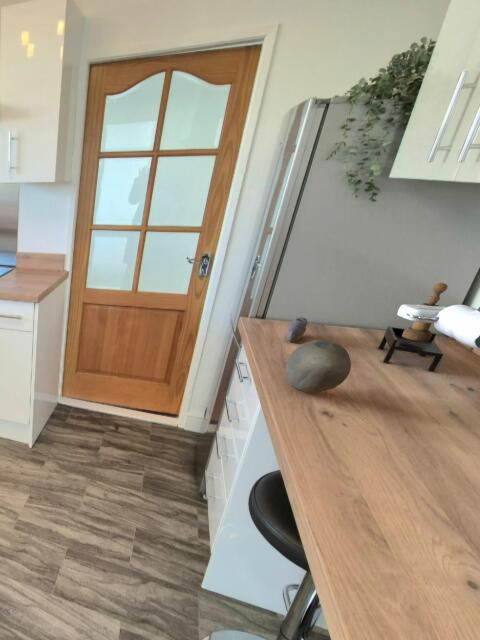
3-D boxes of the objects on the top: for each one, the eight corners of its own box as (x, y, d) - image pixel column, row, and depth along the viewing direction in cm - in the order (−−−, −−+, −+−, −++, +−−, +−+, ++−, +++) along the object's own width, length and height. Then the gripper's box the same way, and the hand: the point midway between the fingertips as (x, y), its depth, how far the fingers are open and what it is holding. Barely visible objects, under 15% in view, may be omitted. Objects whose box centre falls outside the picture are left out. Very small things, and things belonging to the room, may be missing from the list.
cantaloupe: (267, 386, 124) (284, 338, 118) (294, 377, 130) (313, 330, 123) (321, 408, 113) (343, 356, 106) (348, 396, 119) (371, 347, 112)
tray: (424, 355, 145) (436, 333, 142) (433, 371, 134) (446, 348, 130) (378, 347, 152) (388, 326, 148) (383, 362, 140) (394, 339, 137)
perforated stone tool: (296, 346, 153) (303, 327, 150) (279, 342, 156) (285, 324, 153) (305, 335, 162) (311, 318, 159) (288, 332, 165) (294, 315, 162)
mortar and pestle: (403, 333, 143) (429, 279, 135) (430, 338, 139) (458, 283, 131) (400, 337, 140) (426, 282, 132) (427, 343, 135) (456, 286, 127)
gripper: (408, 327, 128) (384, 314, 140) (496, 334, 122) (463, 320, 134) (417, 307, 125) (392, 295, 137) (508, 313, 120) (473, 300, 131)
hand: (428, 307), depth 136 cm, fingers closed on mortar and pestle, 4 cm apart
